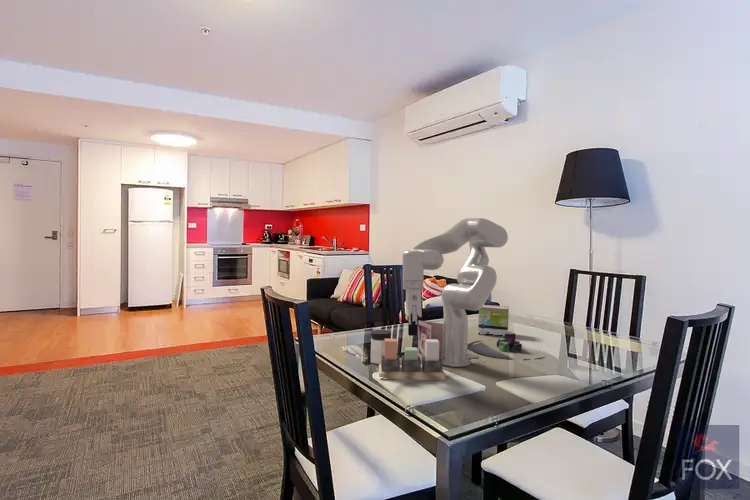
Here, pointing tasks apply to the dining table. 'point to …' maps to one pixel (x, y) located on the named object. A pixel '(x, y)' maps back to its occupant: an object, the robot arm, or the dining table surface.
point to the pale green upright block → (411, 353)
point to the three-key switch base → (411, 369)
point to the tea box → (493, 320)
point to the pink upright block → (390, 349)
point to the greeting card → (429, 336)
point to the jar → (378, 344)
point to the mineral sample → (503, 344)
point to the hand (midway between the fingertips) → (412, 335)
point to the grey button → (431, 350)
